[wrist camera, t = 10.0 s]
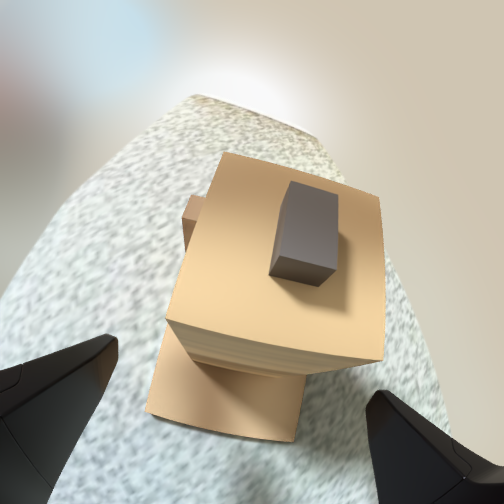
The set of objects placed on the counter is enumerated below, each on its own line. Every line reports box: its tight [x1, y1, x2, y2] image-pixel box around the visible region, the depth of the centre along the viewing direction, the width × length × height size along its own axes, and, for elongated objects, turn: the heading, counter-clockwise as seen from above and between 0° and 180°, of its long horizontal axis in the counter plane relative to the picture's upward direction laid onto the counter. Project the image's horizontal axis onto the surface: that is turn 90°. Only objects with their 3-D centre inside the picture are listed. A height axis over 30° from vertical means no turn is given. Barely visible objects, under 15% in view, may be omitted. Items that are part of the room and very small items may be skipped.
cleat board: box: [145, 195, 307, 442], centre depth 14 cm, size 9×12×6 cm
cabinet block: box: [165, 152, 386, 378], centre depth 11 cm, size 5×5×12 cm
